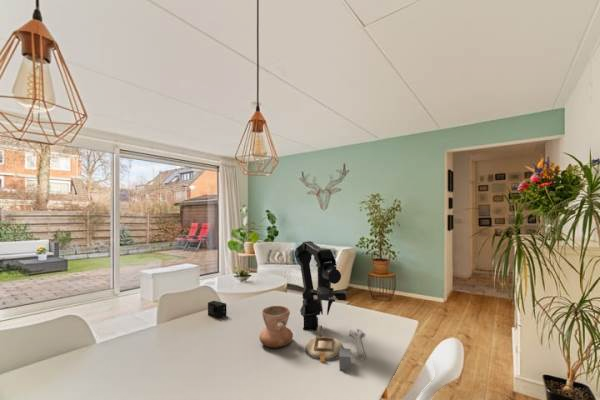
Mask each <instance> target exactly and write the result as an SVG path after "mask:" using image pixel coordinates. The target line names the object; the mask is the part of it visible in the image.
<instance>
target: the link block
mask: <svg viewBox="0 0 600 400" xmlns="http://www.w3.org/2000/svg"><path fill="white" fill-rule="evenodd" d="M351 354H352V353H351V348H344V347H343V348H340V352H339V358H338V360H339V361H338V362H339V371H342V372H351V371H352V362H351V361H352V359H351Z"/></svg>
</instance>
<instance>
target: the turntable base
mask: <svg viewBox="0 0 600 400" xmlns="http://www.w3.org/2000/svg"><path fill="white" fill-rule="evenodd" d="M304 353H305V355H307V357H308V358H311V359H313V360H316V361H317V360H318V361H319V362H320V363H325V362H326V361H327V362H329V361H334V360H337V359H338V360H339V356H337V357H334V358H329V359H325V356H323V355H320V358H316V357H313V356H311V355H310V354H308V353H307V351H306V347H304Z"/></svg>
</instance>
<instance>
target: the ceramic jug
mask: <svg viewBox="0 0 600 400" xmlns="http://www.w3.org/2000/svg"><path fill="white" fill-rule="evenodd" d="M261 313H262V314H261V315H262V319H263V322H264V325H265V326H266V327H265V328H264V329H262V331H260V333H259V342H260V343H261V344H262V345H263V346H265V347H269V348H277V349H278V348H281V347H285V346H287V345H288V344H290V343H291V341H292V340H293V338H294V335H293V331H292V330H291V329H290V328H289V327H287V323H288V321H289V317H290V313H291V309H290V308H288V307H285V306H282V305H270V306H267V307H264V308H263V309H262V312H261Z"/></svg>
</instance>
